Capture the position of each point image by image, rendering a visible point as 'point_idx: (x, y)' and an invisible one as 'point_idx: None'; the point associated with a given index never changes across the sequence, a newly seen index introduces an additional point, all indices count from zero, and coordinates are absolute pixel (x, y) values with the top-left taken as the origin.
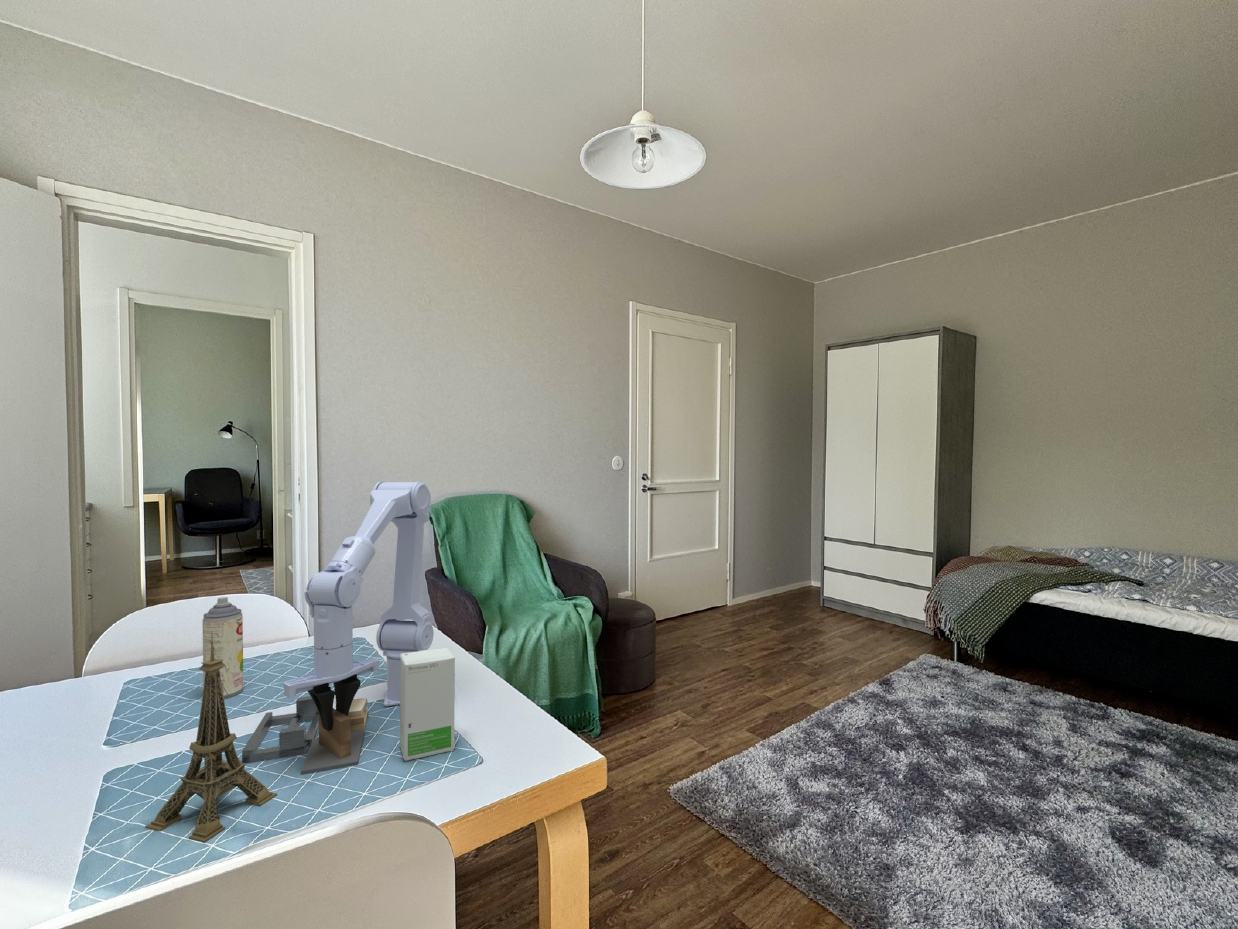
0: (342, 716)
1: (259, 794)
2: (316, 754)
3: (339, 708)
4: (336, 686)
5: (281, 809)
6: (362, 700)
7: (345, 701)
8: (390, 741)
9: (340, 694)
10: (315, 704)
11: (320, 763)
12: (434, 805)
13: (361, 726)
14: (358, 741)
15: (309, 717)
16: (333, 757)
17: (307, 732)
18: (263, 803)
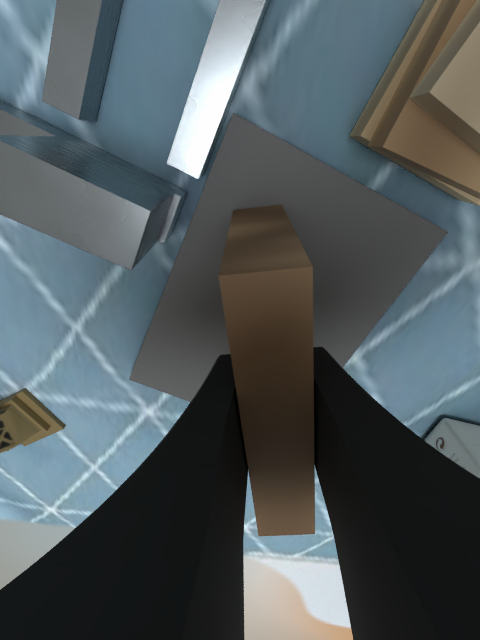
0: (295, 498)
1: (8, 449)
2: (197, 307)
3: (323, 447)
4: (397, 630)
5: (76, 478)
6: None
7: (344, 586)
8: (446, 369)
9: (360, 586)
10: (141, 468)
11: (193, 376)
12: (318, 602)
13: (461, 197)
14: (363, 319)
15: None
16: None
17: (207, 45)
18: (32, 442)
